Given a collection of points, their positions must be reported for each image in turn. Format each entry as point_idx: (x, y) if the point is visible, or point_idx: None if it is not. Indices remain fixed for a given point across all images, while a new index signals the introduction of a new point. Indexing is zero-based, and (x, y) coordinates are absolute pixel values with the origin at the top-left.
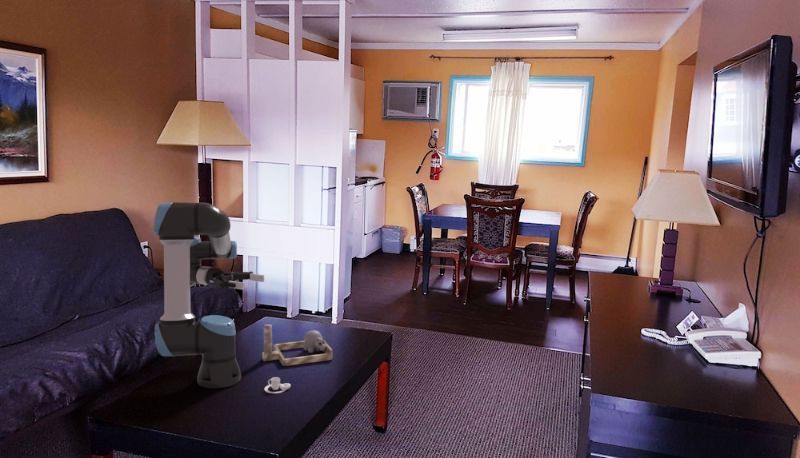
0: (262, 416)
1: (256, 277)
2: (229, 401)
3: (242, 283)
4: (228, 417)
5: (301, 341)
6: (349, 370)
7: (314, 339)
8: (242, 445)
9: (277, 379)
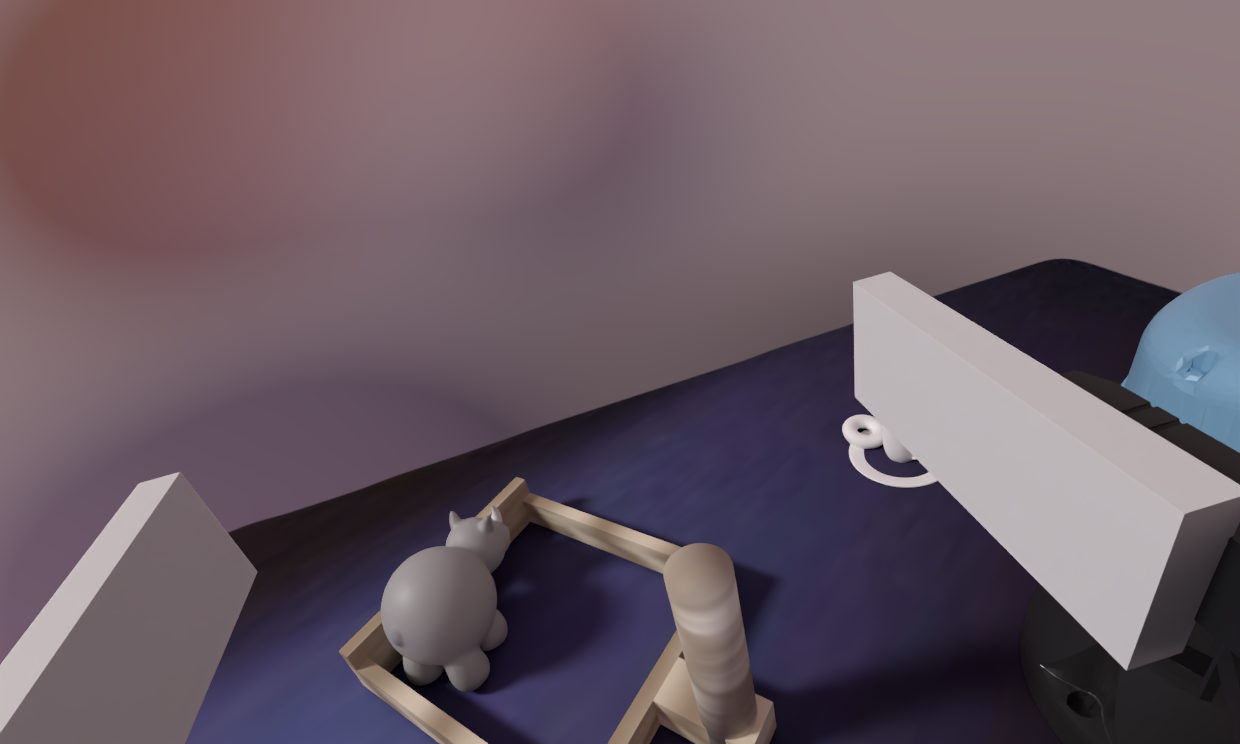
0: (1041, 351)
1: (132, 670)
2: None
3: (892, 282)
4: None
5: (431, 715)
6: (582, 427)
7: (475, 556)
8: (1155, 286)
9: (886, 433)
